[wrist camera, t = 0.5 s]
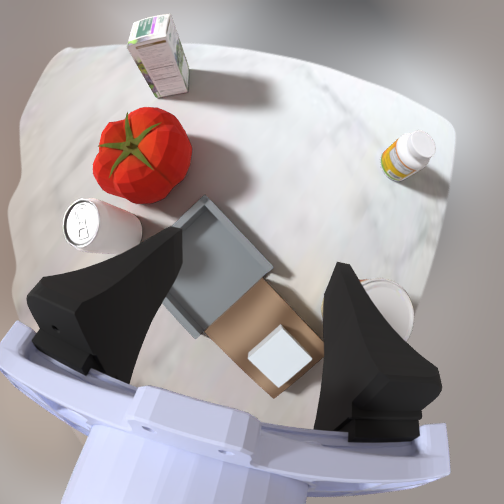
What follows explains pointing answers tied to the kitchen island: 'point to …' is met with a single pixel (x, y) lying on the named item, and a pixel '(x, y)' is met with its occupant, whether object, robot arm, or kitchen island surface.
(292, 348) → the white block
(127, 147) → the tomato
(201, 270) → the tray
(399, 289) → the coffee cup
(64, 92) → the kitchen island surface
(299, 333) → the brown shallow box
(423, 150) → the supplement bottle
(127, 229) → the can
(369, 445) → the robot arm
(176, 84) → the syrup box
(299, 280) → the kitchen island surface
